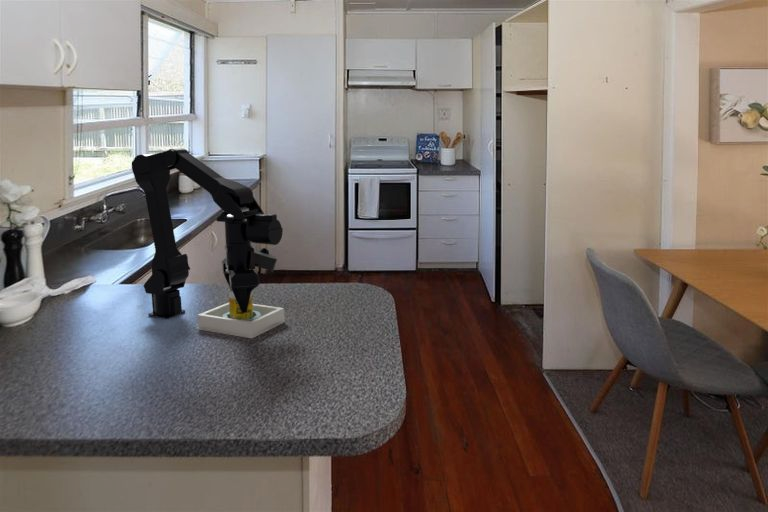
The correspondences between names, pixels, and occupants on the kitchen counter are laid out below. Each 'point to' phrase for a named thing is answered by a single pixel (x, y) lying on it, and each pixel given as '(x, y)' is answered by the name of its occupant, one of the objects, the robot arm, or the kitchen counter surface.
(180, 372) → the kitchen counter surface
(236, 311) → the supplement bottle
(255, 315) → the socket box
